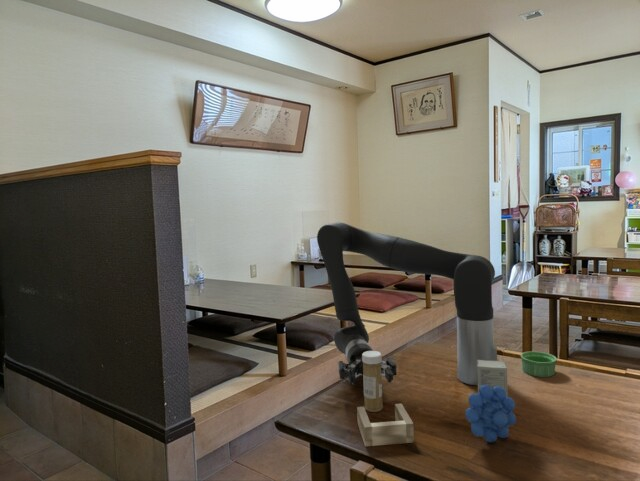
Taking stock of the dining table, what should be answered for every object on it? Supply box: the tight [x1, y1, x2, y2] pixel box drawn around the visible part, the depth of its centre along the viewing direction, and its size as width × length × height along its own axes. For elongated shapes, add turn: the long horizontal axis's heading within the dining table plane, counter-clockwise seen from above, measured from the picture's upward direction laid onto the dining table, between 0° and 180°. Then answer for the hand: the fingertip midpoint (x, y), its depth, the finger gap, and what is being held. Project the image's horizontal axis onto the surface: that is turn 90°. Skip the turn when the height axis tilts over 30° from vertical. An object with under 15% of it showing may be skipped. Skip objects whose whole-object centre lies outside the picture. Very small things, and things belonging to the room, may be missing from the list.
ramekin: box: [520, 350, 558, 378], centre depth 123 cm, size 9×9×4 cm
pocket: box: [356, 403, 415, 447], centre depth 94 cm, size 10×9×4 cm
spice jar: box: [362, 350, 384, 413], centre depth 105 cm, size 5×5×14 cm
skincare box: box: [477, 360, 509, 397], centre depth 99 cm, size 6×4×12 cm
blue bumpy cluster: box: [465, 385, 517, 443], centre depth 88 cm, size 12×7×12 cm, turn 107°
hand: (372, 379), depth 105 cm, fingers open, 8 cm apart
